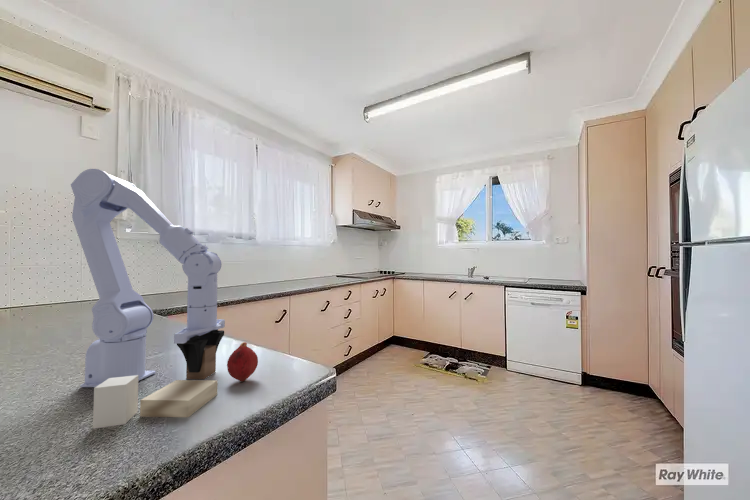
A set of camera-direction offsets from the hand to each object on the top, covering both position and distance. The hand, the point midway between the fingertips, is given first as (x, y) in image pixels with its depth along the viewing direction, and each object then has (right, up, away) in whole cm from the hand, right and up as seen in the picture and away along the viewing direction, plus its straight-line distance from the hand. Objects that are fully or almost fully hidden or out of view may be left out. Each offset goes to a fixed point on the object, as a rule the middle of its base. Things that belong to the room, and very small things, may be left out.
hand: (201, 367), depth 64 cm
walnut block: (0, -2, 0) cm, 2 cm away
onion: (+11, -2, -4) cm, 11 cm away
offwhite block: (-3, -1, -18) cm, 18 cm away
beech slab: (+4, -1, -13) cm, 14 cm away
